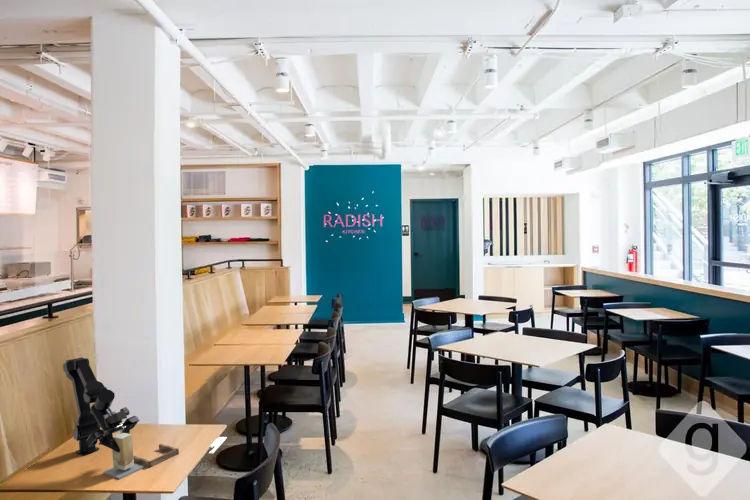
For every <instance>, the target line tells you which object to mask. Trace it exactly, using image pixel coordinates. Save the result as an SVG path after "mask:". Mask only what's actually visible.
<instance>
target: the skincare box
mask: <svg viewBox="0 0 750 500" xmlns="http://www.w3.org/2000/svg"><path fill="white" fill-rule="evenodd" d="M113 439H114V440H115V442H116V444H117V445H118V447H119V449H120V452H116V451H114V450H112V449H111V451H112V452H111V453H112V462H113V463H112V465H113V467H114V468H116V469H120V470H126V469H128V468H130V467H132V466H134V458H133V456H134V448H133V434H132V433H130V434H128V433H122V432H120V431H119V432H118V433H116V434H114V435H113Z"/></svg>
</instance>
